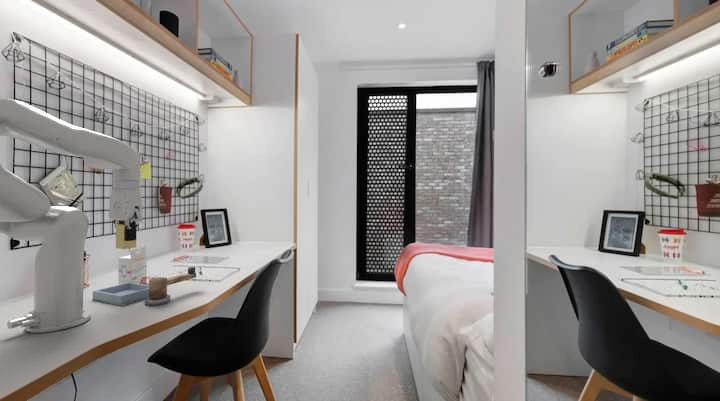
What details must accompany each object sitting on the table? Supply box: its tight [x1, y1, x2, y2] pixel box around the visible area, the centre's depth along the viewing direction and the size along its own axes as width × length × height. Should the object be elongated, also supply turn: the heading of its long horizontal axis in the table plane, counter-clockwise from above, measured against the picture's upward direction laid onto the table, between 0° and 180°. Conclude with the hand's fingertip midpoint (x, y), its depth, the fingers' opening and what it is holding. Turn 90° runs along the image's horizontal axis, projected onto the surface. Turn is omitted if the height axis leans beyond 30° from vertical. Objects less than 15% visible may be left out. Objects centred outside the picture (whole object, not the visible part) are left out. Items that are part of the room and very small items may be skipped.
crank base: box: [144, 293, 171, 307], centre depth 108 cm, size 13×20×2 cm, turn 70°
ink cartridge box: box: [117, 246, 148, 285], centre depth 119 cm, size 9×5×15 cm, turn 179°
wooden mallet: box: [148, 266, 197, 299], centre depth 108 cm, size 17×5×7 cm, turn 160°
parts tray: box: [92, 282, 149, 307], centre depth 106 cm, size 12×14×3 cm
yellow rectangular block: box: [115, 223, 137, 250], centre depth 106 cm, size 4×4×8 cm
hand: (126, 239), depth 106 cm, fingers closed on yellow rectangular block, 4 cm apart
